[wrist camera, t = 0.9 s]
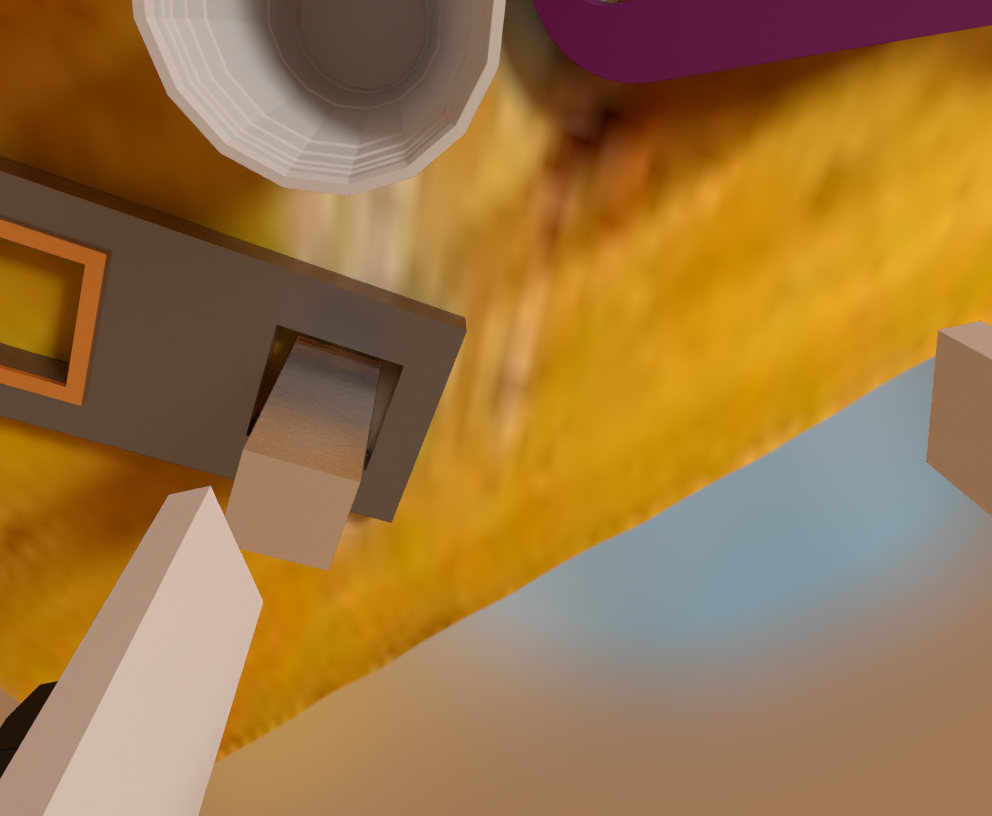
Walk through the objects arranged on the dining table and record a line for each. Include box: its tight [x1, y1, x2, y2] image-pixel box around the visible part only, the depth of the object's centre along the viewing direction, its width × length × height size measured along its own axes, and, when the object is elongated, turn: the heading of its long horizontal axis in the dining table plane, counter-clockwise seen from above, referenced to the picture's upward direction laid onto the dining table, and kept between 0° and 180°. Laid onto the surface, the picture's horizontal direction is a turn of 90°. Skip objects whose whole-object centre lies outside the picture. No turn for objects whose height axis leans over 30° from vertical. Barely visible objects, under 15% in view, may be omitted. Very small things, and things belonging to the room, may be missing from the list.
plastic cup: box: [132, 0, 506, 196], centre depth 26 cm, size 11×11×12 cm
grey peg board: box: [0, 156, 467, 523], centre depth 36 cm, size 26×12×2 cm, turn 69°
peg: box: [225, 335, 381, 571], centre depth 33 cm, size 4×4×12 cm
